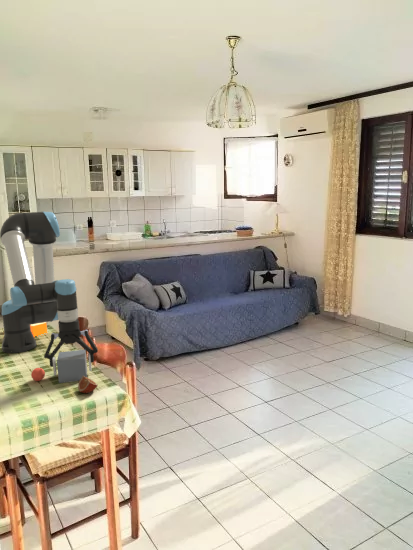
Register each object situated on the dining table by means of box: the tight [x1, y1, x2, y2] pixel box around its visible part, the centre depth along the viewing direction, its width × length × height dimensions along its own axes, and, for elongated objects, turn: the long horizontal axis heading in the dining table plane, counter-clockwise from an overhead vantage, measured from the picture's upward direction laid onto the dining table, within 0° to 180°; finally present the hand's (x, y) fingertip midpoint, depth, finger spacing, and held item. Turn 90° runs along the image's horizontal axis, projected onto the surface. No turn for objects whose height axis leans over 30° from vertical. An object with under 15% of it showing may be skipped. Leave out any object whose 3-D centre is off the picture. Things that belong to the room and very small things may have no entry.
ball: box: [30, 367, 46, 382], centre depth 174 cm, size 5×5×5 cm
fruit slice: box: [77, 376, 98, 394], centre depth 163 cm, size 8×7×5 cm
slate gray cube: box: [56, 349, 88, 384], centre depth 177 cm, size 10×10×9 cm
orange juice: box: [30, 322, 48, 338], centre depth 233 cm, size 8×9×20 cm
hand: (73, 372), depth 177 cm, fingers open, 13 cm apart
